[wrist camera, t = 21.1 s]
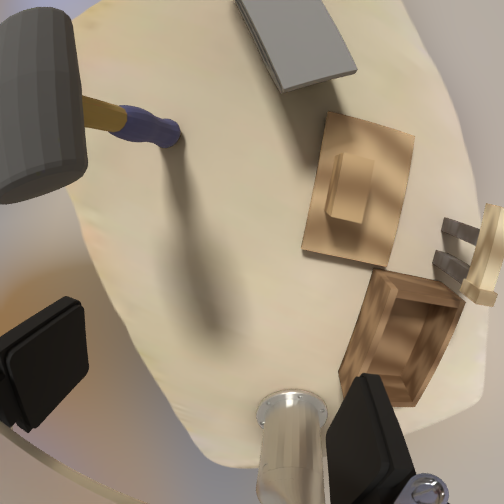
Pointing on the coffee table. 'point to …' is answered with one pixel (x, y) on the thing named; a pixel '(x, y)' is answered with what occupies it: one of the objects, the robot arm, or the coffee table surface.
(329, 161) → the lid
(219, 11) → the coffee table surface
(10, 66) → the rubber mallet
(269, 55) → the sharpening stone
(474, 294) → the pale wooden bar
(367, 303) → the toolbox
